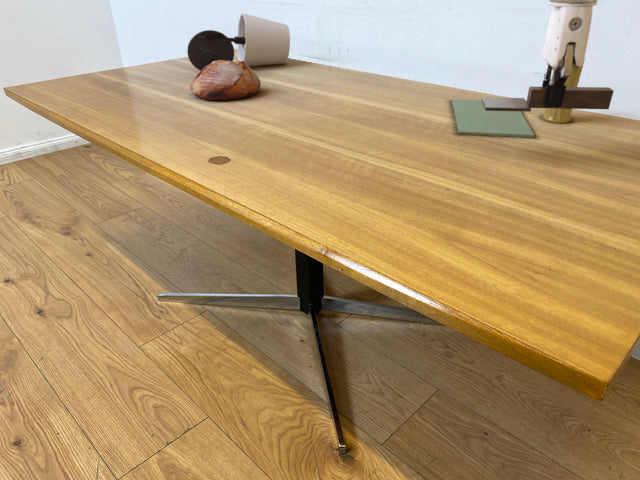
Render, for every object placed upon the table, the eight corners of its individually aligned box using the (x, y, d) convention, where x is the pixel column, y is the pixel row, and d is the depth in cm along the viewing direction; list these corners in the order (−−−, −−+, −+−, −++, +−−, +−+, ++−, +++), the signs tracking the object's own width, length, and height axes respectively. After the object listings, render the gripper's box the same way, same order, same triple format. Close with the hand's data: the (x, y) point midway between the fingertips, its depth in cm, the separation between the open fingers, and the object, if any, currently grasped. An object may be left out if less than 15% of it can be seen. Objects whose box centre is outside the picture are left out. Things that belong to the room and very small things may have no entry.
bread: (266, 101, 135) (264, 64, 129) (194, 108, 130) (189, 70, 124) (254, 83, 148) (252, 49, 142) (188, 89, 142) (183, 53, 137)
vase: (573, 118, 116) (590, 56, 109) (565, 124, 112) (582, 60, 105) (547, 113, 120) (562, 52, 112) (538, 119, 116) (553, 57, 108)
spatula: (600, 102, 92) (605, 84, 91) (612, 113, 87) (618, 94, 85) (481, 100, 96) (483, 82, 94) (485, 110, 90) (488, 92, 88)
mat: (514, 103, 127) (514, 101, 127) (534, 137, 106) (534, 135, 105) (452, 101, 130) (452, 99, 129) (458, 134, 108) (459, 131, 108)
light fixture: (183, 46, 170) (277, 54, 180) (187, 75, 158) (287, 81, 169) (183, -3, 157) (284, 9, 168) (187, 25, 146) (295, 35, 157)
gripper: (614, -1, 74) (583, 117, 84) (583, -10, 87) (560, 93, 97) (561, 0, 75) (537, 116, 85) (540, -9, 89) (521, 92, 98)
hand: (550, 103), depth 91 cm, fingers closed on spatula, 2 cm apart
